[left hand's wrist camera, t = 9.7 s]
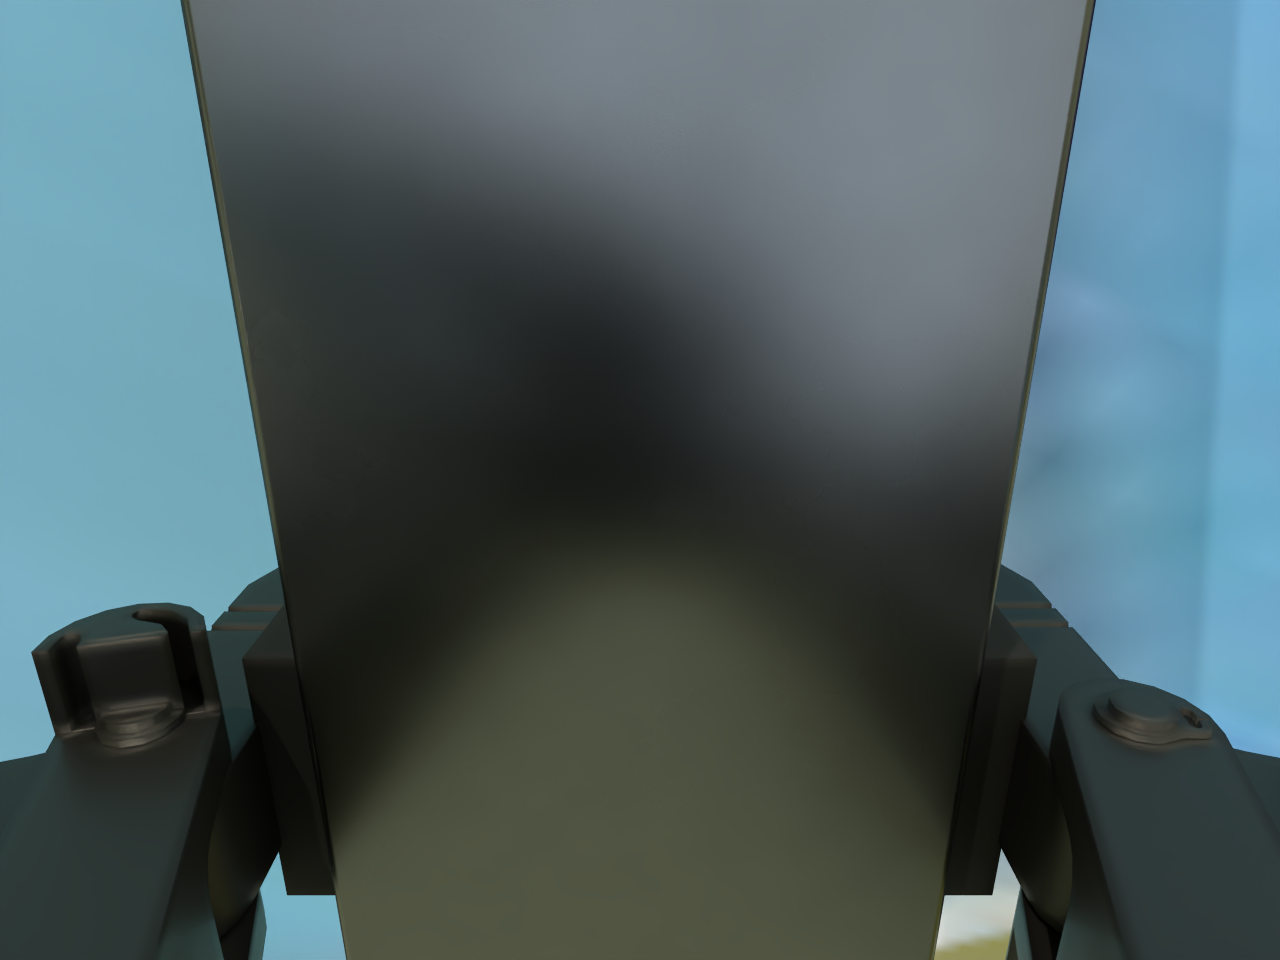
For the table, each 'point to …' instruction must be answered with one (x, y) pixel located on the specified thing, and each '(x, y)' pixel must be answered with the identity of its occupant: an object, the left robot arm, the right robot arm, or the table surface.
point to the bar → (639, 445)
